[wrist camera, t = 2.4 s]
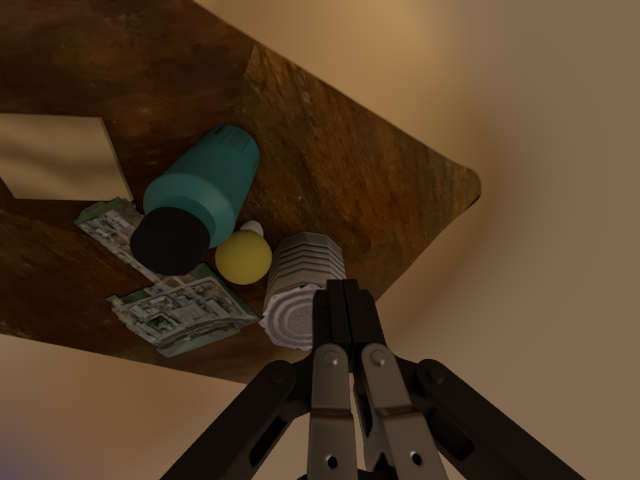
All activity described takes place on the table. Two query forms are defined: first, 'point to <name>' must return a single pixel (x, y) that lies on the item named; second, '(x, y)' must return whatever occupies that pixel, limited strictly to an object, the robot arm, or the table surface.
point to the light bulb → (244, 255)
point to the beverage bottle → (195, 202)
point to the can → (298, 286)
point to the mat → (59, 158)
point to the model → (166, 290)
